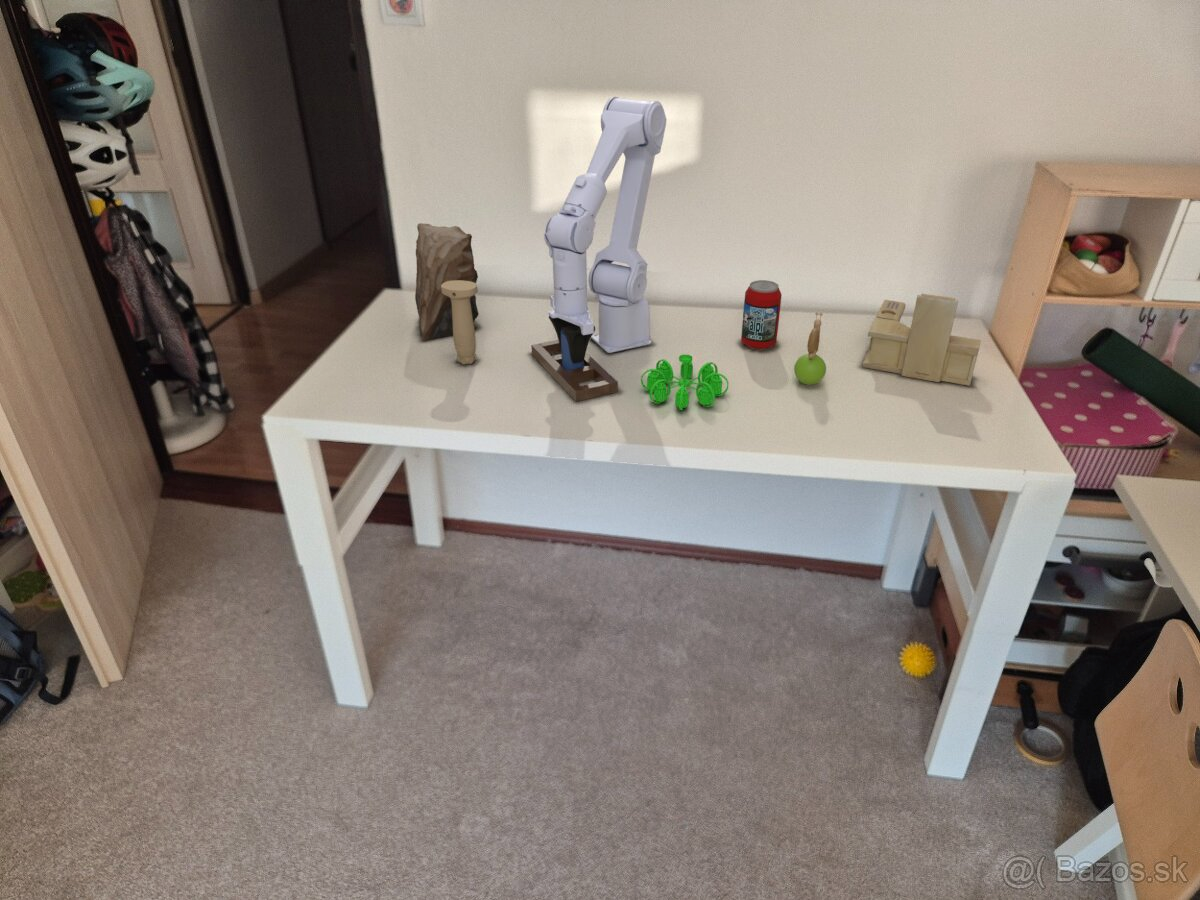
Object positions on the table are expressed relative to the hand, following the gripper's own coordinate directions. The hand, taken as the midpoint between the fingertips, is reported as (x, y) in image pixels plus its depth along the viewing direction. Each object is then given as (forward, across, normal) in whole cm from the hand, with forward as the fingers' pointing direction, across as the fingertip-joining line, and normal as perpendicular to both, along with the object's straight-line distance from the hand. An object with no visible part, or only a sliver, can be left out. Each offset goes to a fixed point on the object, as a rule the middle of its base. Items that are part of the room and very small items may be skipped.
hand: (572, 356), depth 151 cm
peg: (+3, 0, 0) cm, 3 cm away
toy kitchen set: (+3, +24, +60) cm, 65 cm away
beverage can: (+3, +5, +37) cm, 37 cm away
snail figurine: (+3, +22, +36) cm, 42 cm away
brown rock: (+3, -30, -16) cm, 34 cm away
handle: (+3, -13, -16) cm, 21 cm away
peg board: (+3, 0, 0) cm, 3 cm away
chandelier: (+3, +16, +14) cm, 22 cm away
